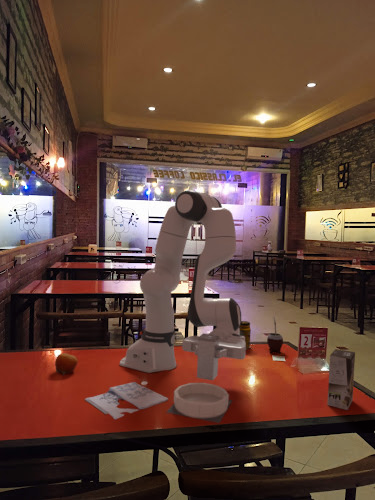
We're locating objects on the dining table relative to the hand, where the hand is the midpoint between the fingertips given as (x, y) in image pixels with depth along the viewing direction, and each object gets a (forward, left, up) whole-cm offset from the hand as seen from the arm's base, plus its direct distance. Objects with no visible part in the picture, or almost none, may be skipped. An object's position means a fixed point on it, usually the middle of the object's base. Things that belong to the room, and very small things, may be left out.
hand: (207, 354), depth 117 cm
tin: (0, +1, -7) cm, 7 cm away
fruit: (-57, +8, -17) cm, 60 cm away
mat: (-2, 0, -17) cm, 17 cm away
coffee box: (+38, +22, -17) cm, 47 cm away
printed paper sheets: (-25, -5, -18) cm, 31 cm away
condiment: (-4, +69, -17) cm, 71 cm away
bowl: (-2, 0, -16) cm, 16 cm away
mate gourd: (+11, +69, -17) cm, 72 cm away
